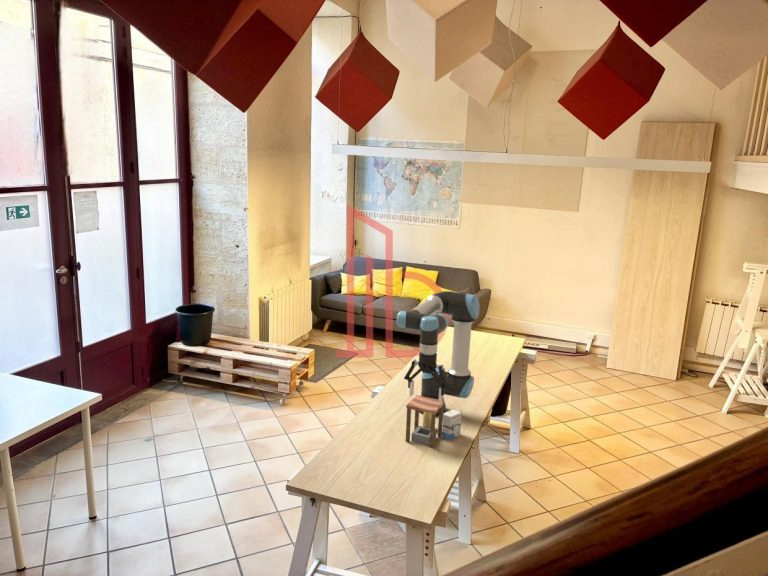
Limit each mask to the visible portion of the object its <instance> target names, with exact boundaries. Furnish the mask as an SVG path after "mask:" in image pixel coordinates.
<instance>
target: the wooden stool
mask: <svg viewBox="0 0 768 576" xmlns="http://www.w3.org/2000/svg"><path fill="white" fill-rule="evenodd" d="M438 401H439V400H438V399H433V398H428V397H423V396H421V395H415V396H414V397H412V399H411V400H410V401H409V402H408V403H406V407H405V408H406V422H405V424H406V425H405V427H406V428H405V442H407V443H409V442H410V441H411V440H410V439H411V425H412V424H411V421H412V420H411V419H412V410H413V411H414V428H413V430H415V429H416V428H417V427H418V426H419V419H420V412H419V411H422V412H426V413H431V414H432V415H431V433H430V445H429V448H431V449H432V448H434V446H435V439H434V435H435V430H436V417H437V416H436V413H437V412H438V410H439V415H438V420H437V421H438V423H437V425H438V427H437V438H439V439H442V438H443V437H442V426H443V405H444V401H445V400H444V401H442V402H441V403H438Z"/></svg>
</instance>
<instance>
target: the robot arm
mask: <svg viewBox="0 0 768 576" xmlns="http://www.w3.org/2000/svg"><path fill="white" fill-rule="evenodd" d="M444 314H445V315H444ZM446 315H449V316H451V321H452V322H453V336H452V338H453V339H452V354H451V364H450V365H451V366H450V368H449V369H447V371H446V369H445V367H444V365H443V364H439V365H438V363H437V359H438V354H437V352H438V341H439V334H441V333H442V332H444V331H445V330H446V329H447V327H448V325H449V320H448V318H447V317H446ZM479 316H480V301H479V297H478V296H477V295H476V294H471V293H467V292H457V291H456V292H455V291H450V290H445V291H439V292H436V293H434V294H431V295H429V296H428V297H427V298H426V299H425V300H424V301H423V302H422V303H420V304H419V305H417V306H416V307H414V308H412V309H411V310H408V311H407V310H400V311H399V312H398V313H397V316H396V325H397V327H399V328H403V329H408V330H414V331H420V334H419V335H420V337H419V353H418V354H419V355H418V360H417V359H413V360H412V361H411V365H410V367H409V369H408V370H407V372H406V374H405V376H404V378H403V379H404V380H405V381H407V382H408V383H407V388H408V389H409V397H412V396H414V391H415V388H414V387H415V380H414V379H415V378H416V377H417V376H418V375H419V374H420V373H421V372H422V373H421V374H422V375H421V390H420V391H421V392H420V393H421V394H420V396H423V397H428V398H433V399H438V400H439V401H438V403H441V402H442V401H444V405H443V414H444V413H446V412H447V405H446V402H445V398H444V396H450V397H454V398H459V399H467V398H469V396H471V393H472V390H473V387H474V382H475V377H474V376H472V372H471V370H470V369H469V362H470V361H469V360H470V351H471V350H470V348H471V337H472V336H471V334H472V324H473V323H474V322H475V321H476V319H478V318H479ZM416 366H418V369H417V370H416V371H415V372H414V373H413V374H412V372H413V371H414V369H415V367H416ZM411 374H412V375H411ZM419 414H421V415H424V412H422V411H419ZM437 416H439V410H438V412H437V413H436V417H437Z"/></svg>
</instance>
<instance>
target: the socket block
mask: <svg viewBox="0 0 768 576" xmlns="http://www.w3.org/2000/svg"><path fill="white" fill-rule="evenodd" d="M413 430H414V429H413ZM430 433H431V428H426V427H423V425H418V427H417V428H416V429H415V430H414V431H413V432H411V437H410V439H411V440H410V441H411V442H413V443H417V444H421V445H425V446H430ZM436 438H437V429H435V435H434V440H435V439H436Z"/></svg>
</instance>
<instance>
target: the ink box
mask: <svg viewBox="0 0 768 576" xmlns="http://www.w3.org/2000/svg"><path fill="white" fill-rule="evenodd" d="M461 426H462V411H458V410H456V409H451V410H448V411H446V412H445V413H444V414H443V421H442V437H441V438H444V439H447V440H452V439H454V438H457V437H458V436H461Z"/></svg>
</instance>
